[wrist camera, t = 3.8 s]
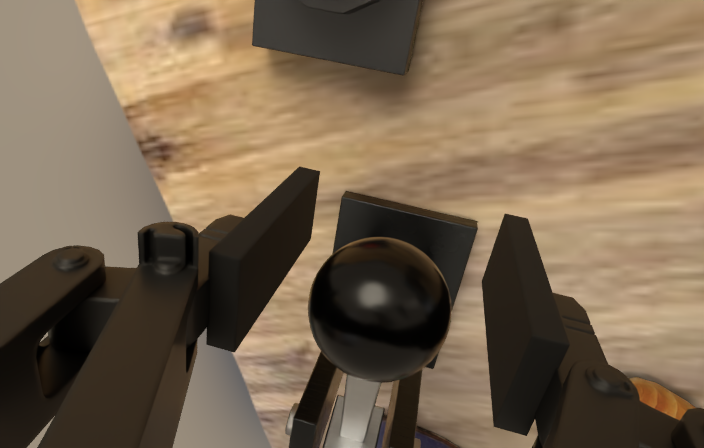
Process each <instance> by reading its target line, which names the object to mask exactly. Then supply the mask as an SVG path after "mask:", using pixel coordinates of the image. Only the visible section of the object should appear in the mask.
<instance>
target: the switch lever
mask: <svg viewBox="0 0 704 448" xmlns="http://www.w3.org/2000/svg"><path fill="white" fill-rule="evenodd" d="M308 316H309V323H310V328H311V331H312V334H313V337H314V339H315V341H316V343H317V345H318V347H319V348H320V350H321V351H322V353H323V354H324V356H325V357H326V358H327V359H328V360H329V361H330V362H331V363H332V364H333V365H334V366H335V367H337V368H338V369H340V370H341V371H343V372H344V373H346V374H347V379H346V387H345V395H344V396H341V395H338V396H337V399H336V402H335V406H334V409H333V413H332V416H331V420H330V423H329V427H328V430H327V434H326V437H325V441H324V444H323V448H377V443H378V438H379V434H380V429H381V424H382V420H383V415H384V410H385V409H384V408H382V407H379V406H375V403H376V400H377V396H378V393H379V389H380V386H381V382H392V381H397V380H401V379H404V378H406V377H409V376H411V375H413V374H415V373H417V372H418V371H420V370H421V369H423V368H424V367H425V366H426V365H427V364H428V363H429V362H431V361H432V360H433V358H434V357H435V356H436V355H437V353H438V352H439V351H440V349H441V347H442V345H443V344H444V342H445V339H446V337H447V334H448V331H449V327H450V322H451V299H450V294H449V290H448V287H447V284H446V282H445V280H444V277H443V275H442V274H441V272H440V270H439V269H438V267H437V266H436V265H435V263H434V262H433V261H432V260H431V259H430V258H429V257H428V256H427V255H426V254H425V253H424V252H422V251H421V250H419V249H418V248H416V247H414V246H413V245H411V244H409V243H407V242H404V241H401V240H398V239H394V238H388V237H370V238H364V239H361V240H357V241H354V242H352V243H349V244H347V245H345V246H344V247H342V248H340V249H339V250H338V251H336V252H335V253H334V254H333V255H331V256H330V257H329V258H328V259H327V261H326V262H325V263H324V264H323V265H322V267H321V268H320V270H319V271H318V273H317V275H316V277H315V279H314V281H313V284H312V287H311V290H310V294H309V302H308Z"/></svg>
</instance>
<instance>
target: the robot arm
mask: <svg viewBox="0 0 704 448" xmlns="http://www.w3.org/2000/svg"><path fill="white" fill-rule="evenodd" d="M319 175H320V171H316V170H312V169H308V168H303V167H299V168H297V169H296V170H295V171H294V172H293V173H292V174H291V175H290V176H289V177H288V178H287V179H286V180H285V181H284V182H283V183H281V184H280V185H279V186H278V187H277V188H276V189H275V190H274V191H273V192H272V193H271V194H270V195H269V196H268V197H266V198H265V199H264V200H263V201H262V202H261V203H260V204H259V205H258V206H257V207H256V208H255V209H254V210H253V211H252V212H250V213H249V214H248V215H247V216H246V217H245V218H242V217H238V216H234V215H227V216H225V217H222V218H219V219H216V220H215V221H214V222H212V223H211V224H210V225H209V226H208V227H206V229H204V230H203V231H202V232H200V233H198V231H197V230H196V229H195V228H194V227H192V226H190V225H187V224H184V223H179V222H160V223H154V224H151V225H149V226H146V227H144V228H142V229H141V230H140V231H139V232H138V248H139V265H138V267H137V268H121V267H105V262H104V254H102V253H101V252H100V251H99V250H98V249H94V248H92V247H86V246H66V247H63V248H59V249H55V250H53V251H50V252H48V253H46V254H44V255H43V256H41V257H40V258H38V259H37V260H35V261H34V262H32V263H31V264H29V265H28V266H26V267H25V268H23V269H22V270H20V271H19V272H17V273H16V274H14V275H13V276H11V277H10V278H8V279H6V280H5V281H3V282H2V283H1V284H0V448H27V446H28V445H29V444H30V443H31V442H32V441H33V440H34V439H35V437H36V436H37V435H38V434H39V433H40V432H41V431H42V429H43V428H44V427H45V426H46V425H47V424H48V423H49V422H50V420H51V419H52V418H53V417H54V416H55V417H54V419H53V421H52V422H51V424H50V426H49V428H48V429H47V431H46V433H45V435H44V437H43V439H42V440H41V442H40V444H39V446H38V447H37V448H172V447H173V443H174V439H175V435H176V432H177V428H178V423H179V420H180V416H181V413H182V409H183V405H184V401H185V397H186V393H187V389H188V386H189V382H190V378H191V374H192V370H193V367H194V363H195V359H196V355H197V339H198V337H199V336H200V335H201V334H202V332H203V331H204V330H205V329H206V328H207V345H210V346H214V347H217V348H221V349H225V350H228V351H231V352H235V351H236V350H237V348H238V347H239V345H240V344H241V342H242V341H243V339H244V338H245V336H246V335H247V333H248V332H249V330H250V329H251V327H252V326H253V324H254V323H255V321H256V320H257V318H258V317H259V315H260V314H261V312H262V311H263V309H264V308H265V306H266V305H267V303H268V302H269V300H270V299H271V297H272V296H273V294H274V293H275V291H276V290H277V288H278V287H279V286H280V284H281V283H282V281H283V280H284V278H285V277H286V275H287V274H288V272H289V271H290V269H291V268H292V266H293V265H294V263H295V262H296V260H297V259H298V257H299V256H300V254H301V253H302V251H303V250H304V248H305V247H306V245H307V244H308V242H309V241H310V239H311V233H312V226H313V219H314V211H315V204H316V197H317V189H318V182H319ZM482 289H483V301H484V314H485V326H486V338H487V350H488V362H489V374H490V386H491V399H492V411H493V423H494V427H497V428H501V429H504V430H508V431H511V432H515V433H518V434H522V435H525V436H527V434H528V432H529V430H530V428H531V426H532V424H533V422H534V419H535V420H536V425H537V431H538V436H537V438H536V440H535V442H534V444H533V447H532V448H704V409H701V408H692V409H688V410H687V411H686V412H685V414H684V415H683V416H682V418H681V419H680V420H678V419H675V418H673V417H671V416H669V415H667V414H665V413H663V412H661V411H659V410H656V409H654V408H652V407H650V406H648V405H647V404H645V403H643V402H641V401H640V397H639V393H638V390H637V388H636V387H635V385H634V384H633V383H632V381H631V380H630V379H629V378H628V377H626V376H625V375H624V374H623V373H622V372H620V371H619V370H617V369H615V368H614V367H612V366H610V365H608V363H607V360H606V358H605V356H604V353H603V351H602V349H601V346H600V344H599V342H598V339H597V337H596V335H594V334H595V332H594V330H593V327H592V325H590V320H589V318H588V316H587V313H586V311H585V310H584V309H583V308H582V307H581V306H580V305H579V303H578V302H577V301H576V300H575V299H574V298H572V297H568V296H563V295H559V294H555V293H552V290H551V287H550V284H549V281H548V278H547V275H546V272H545V269H544V266H543V263H542V260H541V257H540V254H539V251H538V248H537V245H536V242H535V239H534V236H533V233H532V230H531V227H530V224H529V221H528V219H526V218H522V217H518V216H513V215H509V214H505V215H504V218H503V221H502V224H501V226H500V229H499V232H498V235H497V238H496V241H495V244H494V247H493V250H492V253H491V256H490V259H489V262H488V265H487V268H486V271H485V274H484V277H483V279H482ZM47 332H48V336H47V337H46V338H45V339H44V340H43V341H41V339H42V338H43V337H44V335H45V334H46V333H47ZM40 341H41V342H40Z"/></svg>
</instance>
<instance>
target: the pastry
mask: <svg viewBox="0 0 704 448" xmlns="http://www.w3.org/2000/svg"><path fill="white" fill-rule="evenodd" d="M629 379H630V380H631V381H632V383H633V384H634V385H635V387H636V388H637V390H638V393H639V397H640V401H641V402H643V403H645V404H647V405H648V406H650V407H652V408H654V409H656V410H659V411H661V412H663V413H665V414H667V415H669V416H671V417H673V418H675V419H678V420H680V419H681V418H682V416H683V415H684V414H685V412H686V411H687V410H688V409H692V408H695V407H694V406H693V405H691V404H690V403H689V402H687V401H686V400H684V399H682V398H681V397H679V396H677V395H676V394H674V393H672V392H671V391H669V390H668V389H666V388H664V387H663V386H661V385H659V384H657V383H655V382H652V381H648V380H644V379H641V378H638V377H634V378H629Z"/></svg>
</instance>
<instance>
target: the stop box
mask: <svg viewBox="0 0 704 448" xmlns="http://www.w3.org/2000/svg"><path fill="white" fill-rule="evenodd" d="M422 2H423V0H255V7H254V23H253V40H252V45H253V46H257V47H262V48H267V49H272V50H277V51H282V52H287V53H292V54H298V55H303V56H308V57H313V58H318V59H323V60H328V61H333V62H338V63H343V64H348V65H353V66H358V67H363V68H368V69H374V70H379V71H384V72H389V73H394V74H399V75H405V74H406V73H407V72H408V70H409V65H410V61H411V56H412V51H413V46H414V41H415V36H416V31H417V27H418V22H419V17H420V12H421V7H422Z"/></svg>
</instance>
